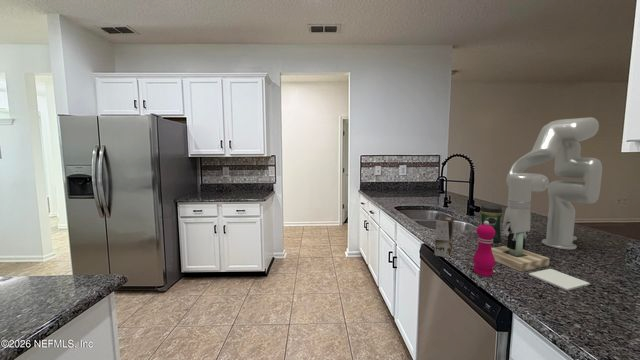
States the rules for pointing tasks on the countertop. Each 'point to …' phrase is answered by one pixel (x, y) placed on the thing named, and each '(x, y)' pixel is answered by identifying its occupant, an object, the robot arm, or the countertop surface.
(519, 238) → the peg
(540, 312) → the countertop surface
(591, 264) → the countertop surface
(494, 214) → the coffee jar
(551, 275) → the mat
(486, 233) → the pepper mill
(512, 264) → the wooden square frame
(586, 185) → the robot arm
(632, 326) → the countertop surface
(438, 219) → the coffee box
